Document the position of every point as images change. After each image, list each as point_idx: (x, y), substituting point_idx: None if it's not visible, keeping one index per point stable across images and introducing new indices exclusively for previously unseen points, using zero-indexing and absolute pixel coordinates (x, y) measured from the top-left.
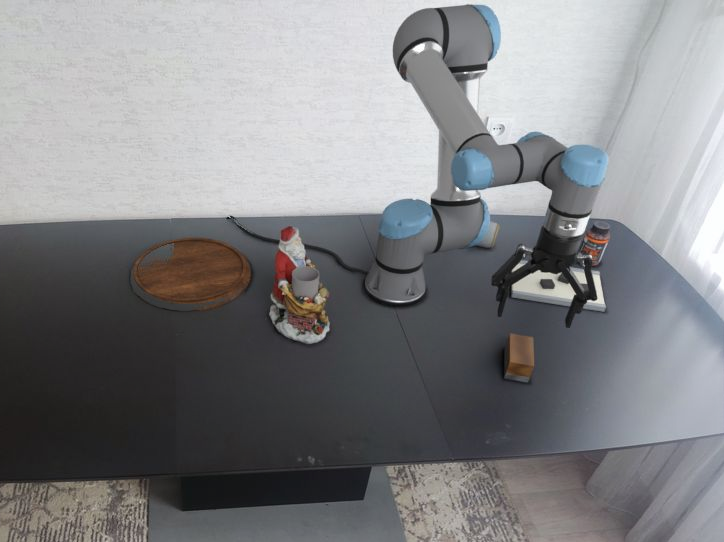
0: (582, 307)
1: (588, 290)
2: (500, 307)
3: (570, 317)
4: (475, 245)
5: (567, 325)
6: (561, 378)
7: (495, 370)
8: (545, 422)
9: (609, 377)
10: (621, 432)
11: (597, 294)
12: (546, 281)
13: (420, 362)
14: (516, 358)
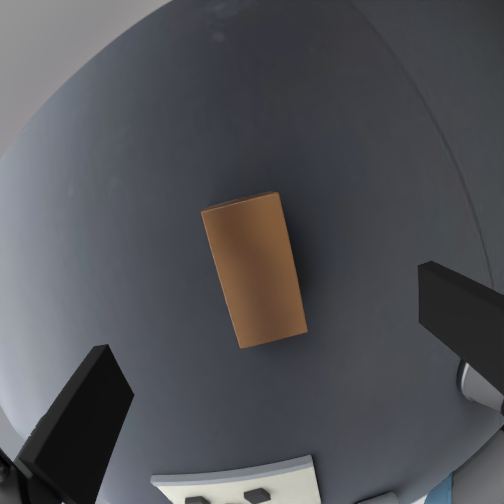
0: (29, 437)
1: (190, 502)
2: (466, 277)
3: (79, 381)
4: (375, 497)
5: (100, 351)
6: (139, 269)
7: (298, 212)
8: (140, 90)
9: (65, 322)
10: (16, 164)
11: (176, 498)
12: (260, 499)
13: (446, 160)
14: (262, 218)
